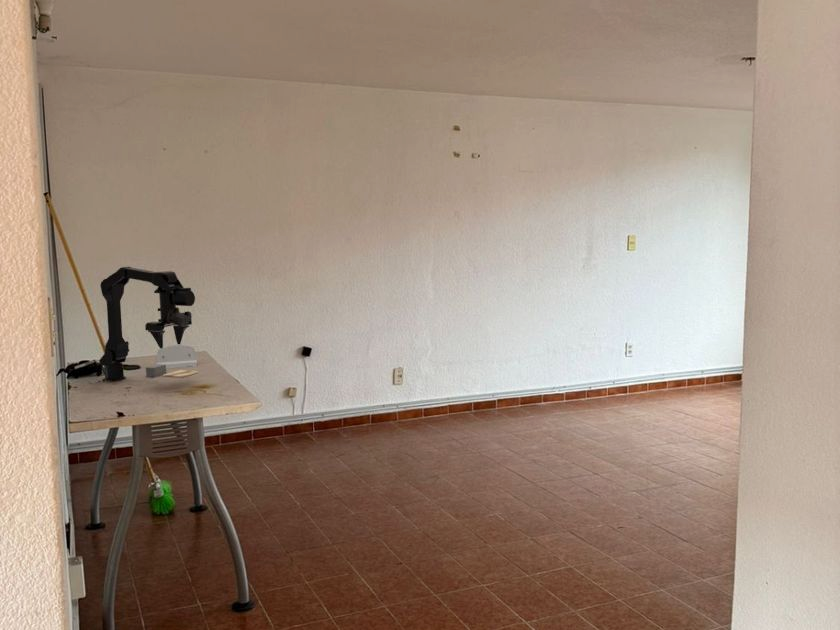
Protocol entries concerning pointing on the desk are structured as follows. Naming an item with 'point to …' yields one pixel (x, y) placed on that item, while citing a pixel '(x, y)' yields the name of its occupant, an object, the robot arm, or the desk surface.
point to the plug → (156, 370)
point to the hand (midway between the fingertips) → (170, 346)
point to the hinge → (177, 356)
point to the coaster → (180, 373)
